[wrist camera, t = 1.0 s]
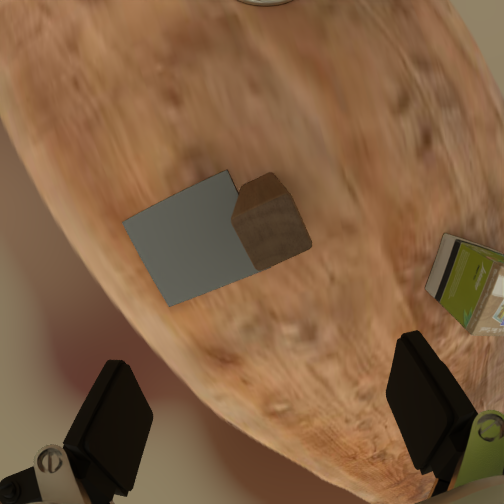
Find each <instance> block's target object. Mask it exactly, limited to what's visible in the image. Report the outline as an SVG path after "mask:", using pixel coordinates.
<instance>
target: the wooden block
mask: <svg viewBox="0 0 504 504" xmlns="http://www.w3.org/2000/svg"><path fill="white" fill-rule="evenodd" d="M231 224H232V226H233V228H234V229H235V231H236V233H237V235H238V237H239V239H240V241H241V243H242V245H243V247H244V249H245V250H246V252H247V254H248V256H249V258H250V260H251V262H252V264H253V266H254V268H255V269H256V270H258V271H262V270H264V269H267V268H269V267H271V266H273V265H276V264H278V263H280V262H282V261H284V260H287V259H289V258H291V257H293V256H296V255H298V254H300V253H302V252H304V251H307V250H309V249H310V248H311V247H312V241H311V238H310V236H309V234H308V232H307V229H306V227H305V225H304V223H303V220H302V218H301V216H300V214H299V211H298V209H297V207H296V205H295V203H294V200H293V198H292V196H291V194H290V193H289V192H288V191H287V189H286V188H285V187H284V186H283V185H282V183H281V182H280V181H279V180H278V178H277V177H276V176H275V175H274V174H273V173H268V174H266V175H263V176H261V177H259V178H257V179H255V180H253V181H251V182H249V183H247V184H245V185H243V186H242V187H241V189H240V192H239V195H238V198H237V201H236V204H235V207H234V211H233V214H232V217H231Z"/></svg>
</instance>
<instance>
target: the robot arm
mask: <svg viewBox="0 0 504 504" xmlns="http://www.w3.org/2000/svg"><path fill="white" fill-rule="evenodd" d="M238 1H241V2H244V3H247V4H252V5H260V6H271V5H279V4H284V3H287V2H289V1H292V0H261V1H258V0H238ZM386 398H387V401H388V403H389V406H390V408H391V410H392V413H393V415H394V417H395V420H396V422H397V424H398V427H399V429H400V432H401V434H402V437H403V439H404V442H405V444H406V447H407V449H408V452H409V454H410V457H411V459H412V462H413V464H414V467H415V468H416V469H417V470H419V469H420V471H421V474H422V475H424V474H427V473H429V472H432V471H433V473H434V475H435V477H436V479H435V482H434V484H433V487H432V489H431V491H430V493H429V496H428V498H427V499H426V500H424V501H421V502H418V503H415V504H504V415H503V414H502V413H501V412H499V411H496V410H486V411H483V412H481V413H480V414H478V413H477V411H476V410H475V408H474V406H473V405H472V403H471V402H470V400H469V399H468V397H467V396H466V394H465V393H464V391H463V390H462V388H461V387H460V385H459V384H458V382H457V381H456V379H455V378H454V376H453V375H452V373H451V372H450V371H449V369H448V368H447V366H446V365H445V364H444V363H443V362H442V361H441V360H440V359H439V357H438V356H437V355H436V353H435V352H434V350H433V349H432V348H431V346H430V345H429V344H428V342H427V341H426V339H425V338H424V337H423V335H422V334H421V333H420V332H419V331H417V330H416V331H412V332H407V333H404V334H402V335H401V338H399V339H398V340H397V343H396V348H395V353H394V358H393V363H392V367H391V372H390V376H389V380H388V384H387V389H386ZM152 421H153V412H152V410H151V408H150V406H149V404H148V403H147V401H146V399H145V397H144V395H143V393H142V391H141V389H140V387H139V385H138V382H137V380H136V378H135V376H134V374H133V372H132V370H131V368H130V366H129V365H127V364H126V363H125V362H124V361H123V360H108V361H107V362H106V364H105V365H104V367H103V369H102V371H101V372H100V374H99V376H98V378H97V379H96V381H95V383H94V385H93V387H92V388H91V390H90V392H89V394H88V396H87V397H86V400H85V401H84V403H83V405H82V407H81V409H80V410H79V412H78V414H77V416H76V418H75V420H74V422H73V424H72V426H71V428H70V430H69V432H68V434H67V436H66V438H65V440H64V442H63V444H64V446H63V448H61V447H60V446H58V445H47V446H44V447H43V448H41V449H40V450H39V451H38V452H37V454H36V455H35V458H34V466H33V467H30V468H28V469H26V470H23V471H21V472H18V473H16V474H13V475H11V476H8V477H6V478H4V479H3V480H2V481H1V482H0V504H115V503H114V502H113V500H112V499H113V496H114V494H116V495H120V496H125V497H127V495H128V491H131V490H132V489H133V486H134V483H135V479H136V475H137V472H138V468H139V465H140V461H141V458H142V455H143V451H144V448H145V444H146V441H147V438H148V434H149V431H150V428H151V424H152Z"/></svg>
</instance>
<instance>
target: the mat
mask: <svg viewBox="0 0 504 504" xmlns="http://www.w3.org/2000/svg"><path fill="white" fill-rule="evenodd" d="M238 195H239V194H238V192H237V190H236V188H235V186H234V183H233V181H232V179H231V177H230V175H229V172H228V170H225V171H223V172H221V173H219V174H217V175H215V176H212V177H210V178H208V179H206V180H204V181H202V182H200V183H197V184H195V185H193V186H191V187H189V188H187V189H185V190H183V191H181V192H179V193H177V194H175V195H173V196H171V197H169V198H167V199H165V200H163V201H161V202H159V203H157V204H155V205H153V206H152V207H150V208H148V209H146V210H144V211H142V212H140V213H138V214H136V215H135V216H133V217H131V218H129V219H127V220H125V221H124V222H122V223H123V225H124V227H125V229H126V231H127V233H128V235H129V237H130V239H131V241H132V243H133V245H134V246H135V248H136V250H137V252H138V254H139V256H140V258H141V259H142V261H143V263H144V265H145V267H146V268H147V270H148V272H149V274H150V275H151V277H152V279H153V281H154V282H155V284H156V286H157V287H158V289H159V291H160V293H161V294H162V296H163V298H164V299H165V301H166V303H167V304H168V306H169V307H171V306H173V305H176V304H179V303H181V302H184V301H186V300H189V299H192V298H194V297H197V296H199V295H202V294H205V293H207V292H210V291H212V290H215V289H218V288H220V287H223V286H225V285H228V284H230V283H233V282H235V281H238V280H240V279H243V278H246V277H248V276H251V275H253V274H256V273H258V272H261V271H258V270H256V269H255V268H254V266H253V264H252V262H251V260H250V258H249V256H248V254H247V252H246V250H245V249H244V247H243V245H242V243H241V241H240V239H239V237H238V235H237V233H236V231H235V229H234V228H233V226H232V224H231V217H232V214H233V211H234V207H235V204H236V201H237V198H238ZM269 268H271V267H269ZM267 269H268V268H267ZM264 270H266V269H264ZM262 271H263V270H262Z"/></svg>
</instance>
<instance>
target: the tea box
mask: <svg viewBox="0 0 504 504" xmlns="http://www.w3.org/2000/svg"><path fill="white" fill-rule="evenodd" d="M425 290H427V291H428V292H429V294H430V295H431V296H432V297H434V298H435V299H436V300H437V301H438V302H439V303H440V304H441V305H442V306H443V307H444V308H445V309H446V310H447V311H448V312H449V313H450V314H451V315H452V316H453V317H454V318H455V319H456V320H457V321H458V322H459V323H460V324H461V325H462V326H463V327H464V328H465V329H466V330H467V331H468V332H469V333H470V334H471V335H474V336H504V254H502V253H500V252H498V251H496V250H494V249H491V248H489V247H486V246H483V245H480V244H477V243H474V242H471V241H469V240H465V239H462V238H459V237H456V236H453V235H449V234H446V233H444V235H443V238H442V241H441V244H440V247H439V250H438V253H437V256H436V259H435V262H434V265H433V267H432V270H431V273H430V276H429V278H428V281H427V284H426V287H425Z"/></svg>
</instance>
